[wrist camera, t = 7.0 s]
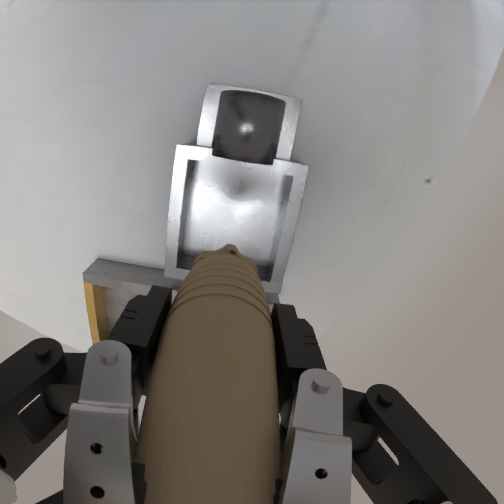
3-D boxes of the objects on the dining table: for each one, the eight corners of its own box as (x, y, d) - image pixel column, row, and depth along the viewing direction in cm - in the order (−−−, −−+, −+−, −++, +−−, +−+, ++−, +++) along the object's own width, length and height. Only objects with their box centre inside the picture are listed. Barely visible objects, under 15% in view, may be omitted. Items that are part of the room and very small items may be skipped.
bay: (97, 258, 27) (82, 272, 24) (276, 286, 29) (280, 305, 26) (104, 332, 31) (94, 350, 28) (257, 358, 33) (259, 379, 30)
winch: (197, 84, 22) (185, 70, 16) (310, 103, 22) (328, 95, 17) (173, 257, 28) (159, 285, 23) (274, 273, 29) (281, 302, 24)
